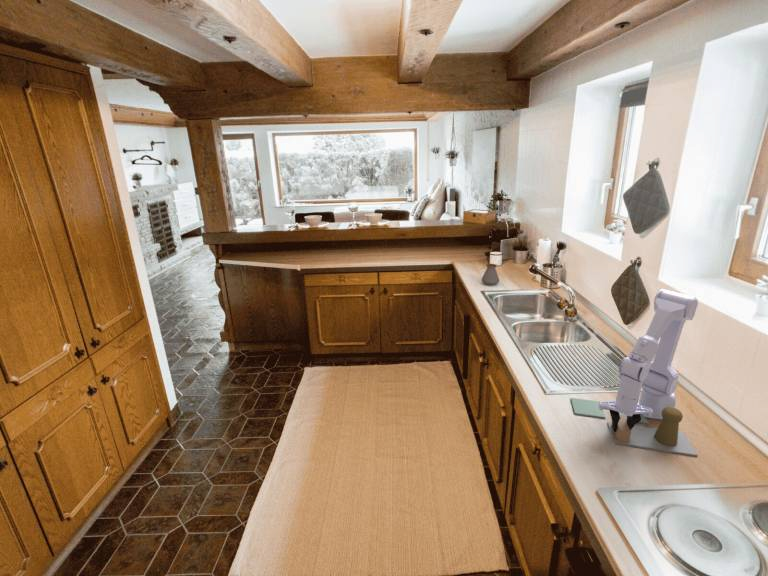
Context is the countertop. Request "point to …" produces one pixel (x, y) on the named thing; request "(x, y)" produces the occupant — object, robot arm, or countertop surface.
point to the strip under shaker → (648, 439)
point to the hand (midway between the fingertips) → (620, 430)
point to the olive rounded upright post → (668, 427)
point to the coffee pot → (490, 274)
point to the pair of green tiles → (593, 409)
